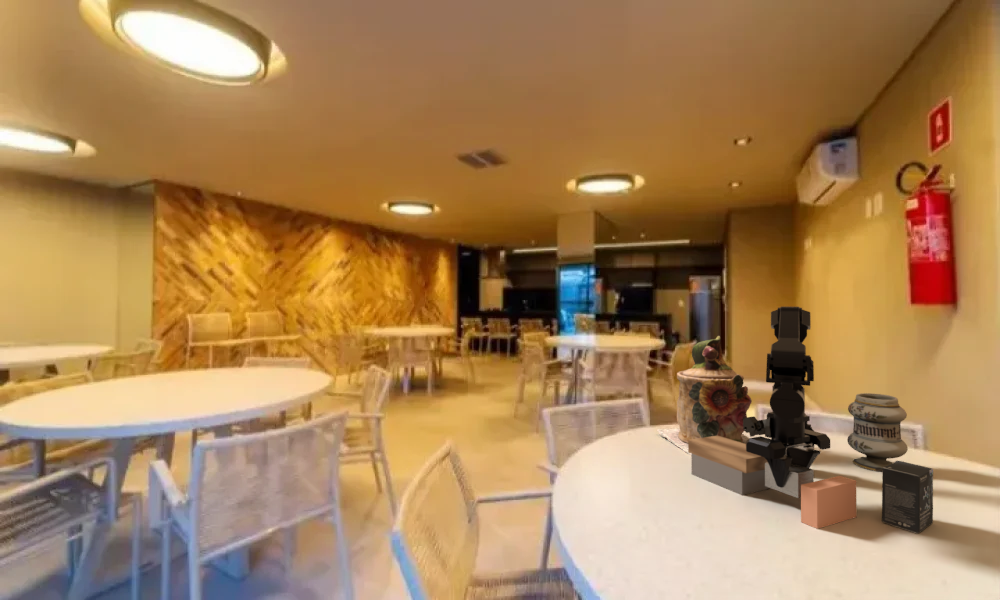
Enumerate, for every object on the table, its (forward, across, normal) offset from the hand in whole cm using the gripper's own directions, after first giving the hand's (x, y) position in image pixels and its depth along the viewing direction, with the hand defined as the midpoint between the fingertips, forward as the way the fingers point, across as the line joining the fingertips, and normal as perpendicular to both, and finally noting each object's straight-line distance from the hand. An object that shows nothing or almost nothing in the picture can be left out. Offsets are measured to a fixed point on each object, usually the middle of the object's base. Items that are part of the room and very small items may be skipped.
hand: (788, 484), depth 98 cm
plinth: (+4, 0, -14) cm, 14 cm away
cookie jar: (+4, -20, -38) cm, 43 cm away
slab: (-1, 0, -14) cm, 14 cm away
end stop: (+4, 0, +8) cm, 9 cm away
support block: (+1, 0, 0) cm, 1 cm away
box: (+4, -12, +15) cm, 20 cm away
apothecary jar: (+4, -43, -6) cm, 43 cm away
